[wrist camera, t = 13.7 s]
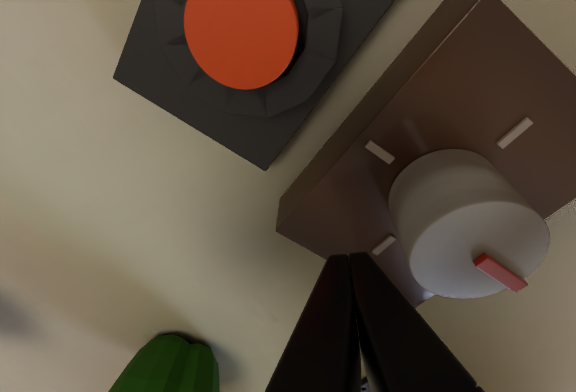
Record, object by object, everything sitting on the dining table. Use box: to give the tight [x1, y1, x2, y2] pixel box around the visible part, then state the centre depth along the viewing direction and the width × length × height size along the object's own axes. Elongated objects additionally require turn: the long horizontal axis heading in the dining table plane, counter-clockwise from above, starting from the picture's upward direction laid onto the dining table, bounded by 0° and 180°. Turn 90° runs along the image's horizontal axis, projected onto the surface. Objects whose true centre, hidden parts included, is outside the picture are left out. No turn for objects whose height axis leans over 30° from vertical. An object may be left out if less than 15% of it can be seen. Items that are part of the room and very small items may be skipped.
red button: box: [184, 0, 299, 90], centre depth 11 cm, size 4×4×2 cm
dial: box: [388, 149, 550, 299], centre depth 14 cm, size 5×5×4 cm
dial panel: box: [276, 0, 576, 308], centre depth 17 cm, size 13×10×3 cm
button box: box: [113, 0, 394, 171], centre depth 13 cm, size 11×8×4 cm
